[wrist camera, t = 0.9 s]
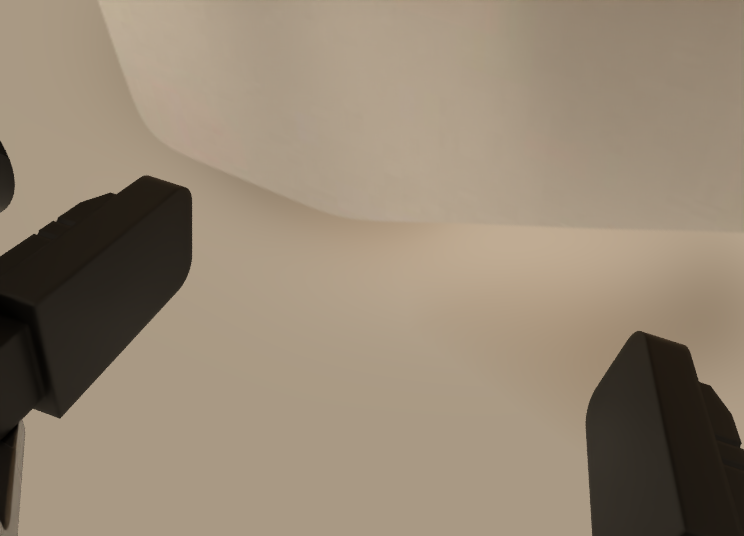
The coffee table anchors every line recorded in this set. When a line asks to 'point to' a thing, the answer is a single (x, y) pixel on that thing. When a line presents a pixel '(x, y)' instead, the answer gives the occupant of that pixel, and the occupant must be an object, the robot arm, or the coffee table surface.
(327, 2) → the coffee table surface
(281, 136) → the coffee table surface
